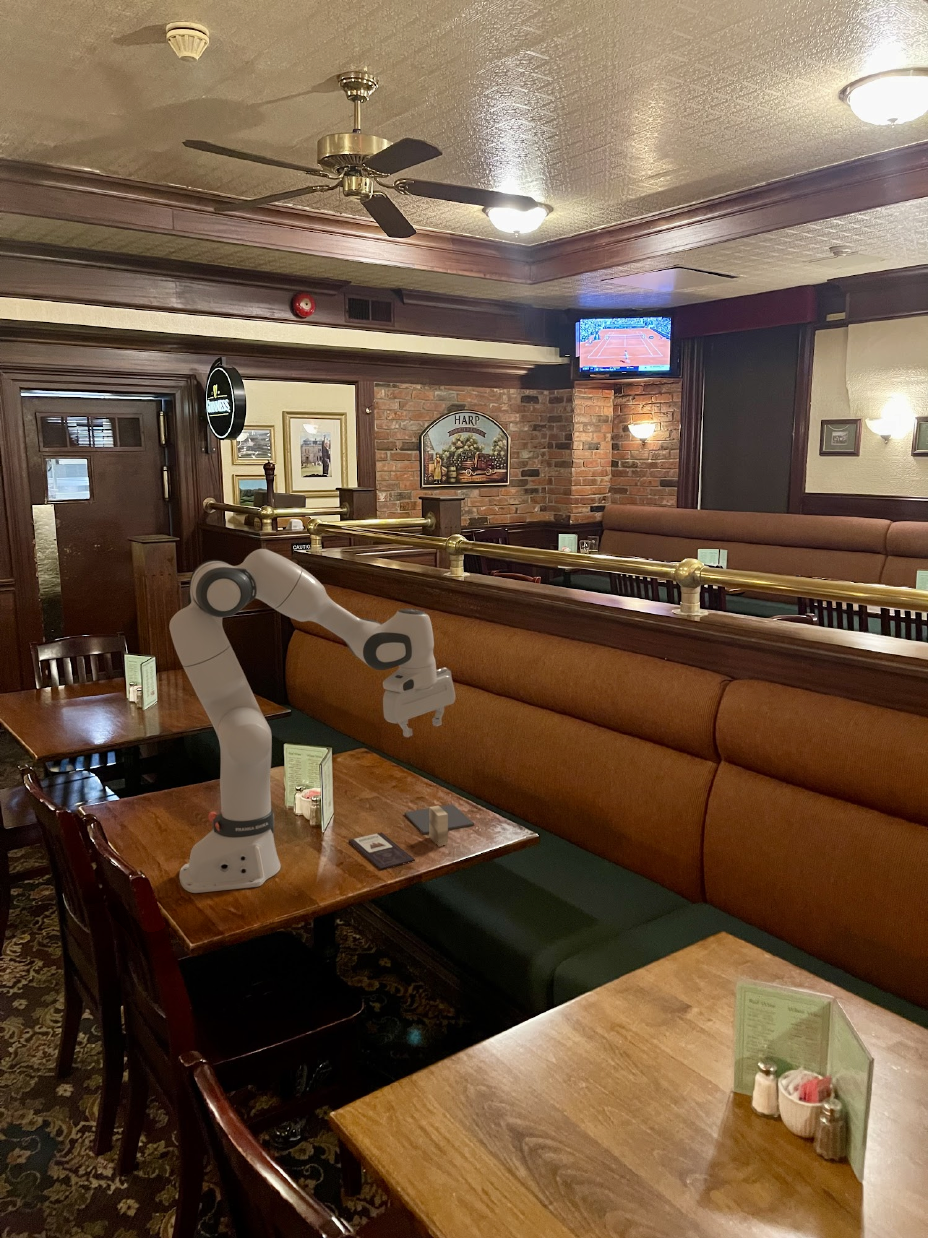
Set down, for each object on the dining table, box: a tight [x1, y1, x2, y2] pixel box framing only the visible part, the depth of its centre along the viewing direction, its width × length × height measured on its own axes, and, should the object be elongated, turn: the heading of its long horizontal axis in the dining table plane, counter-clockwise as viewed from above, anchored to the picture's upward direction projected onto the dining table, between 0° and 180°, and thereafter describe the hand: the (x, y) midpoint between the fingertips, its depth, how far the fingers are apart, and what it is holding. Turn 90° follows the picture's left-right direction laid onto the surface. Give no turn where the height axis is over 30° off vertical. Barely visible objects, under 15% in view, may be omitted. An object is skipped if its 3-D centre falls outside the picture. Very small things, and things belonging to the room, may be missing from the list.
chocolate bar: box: [348, 832, 416, 871], centre depth 221 cm, size 9×1×18 cm
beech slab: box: [428, 805, 449, 847], centre depth 226 cm, size 6×2×8 cm, turn 24°
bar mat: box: [404, 804, 475, 835], centre depth 240 cm, size 14×14×1 cm
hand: (422, 730), depth 221 cm, fingers open, 8 cm apart
